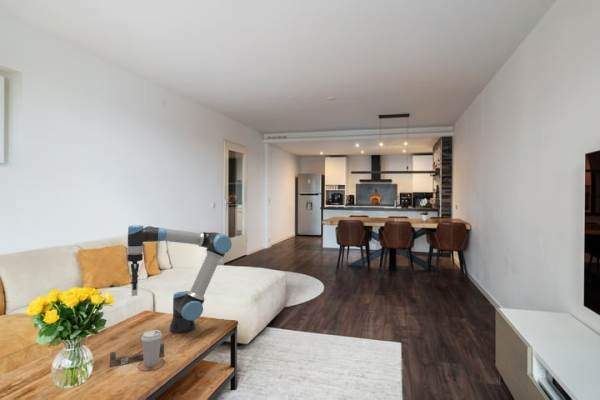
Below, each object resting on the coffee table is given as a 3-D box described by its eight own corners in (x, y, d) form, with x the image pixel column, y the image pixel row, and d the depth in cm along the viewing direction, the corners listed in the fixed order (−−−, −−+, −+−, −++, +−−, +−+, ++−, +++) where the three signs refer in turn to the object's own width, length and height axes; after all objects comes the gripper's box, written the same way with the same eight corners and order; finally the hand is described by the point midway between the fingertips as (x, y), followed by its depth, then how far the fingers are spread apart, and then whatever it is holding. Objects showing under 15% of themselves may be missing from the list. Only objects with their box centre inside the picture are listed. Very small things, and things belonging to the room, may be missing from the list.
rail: (163, 354, 170) (163, 343, 170) (166, 367, 157) (166, 355, 157) (110, 364, 159) (110, 352, 159) (108, 379, 146) (108, 366, 146)
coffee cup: (153, 369, 153) (154, 338, 154) (135, 367, 155) (136, 336, 156) (165, 360, 163) (166, 330, 163) (149, 358, 165) (149, 328, 165)
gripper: (127, 250, 186) (126, 287, 185) (127, 257, 164) (126, 299, 163) (142, 249, 189) (141, 286, 189) (143, 256, 167) (142, 297, 167)
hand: (134, 292), depth 176 cm, fingers open, 13 cm apart
